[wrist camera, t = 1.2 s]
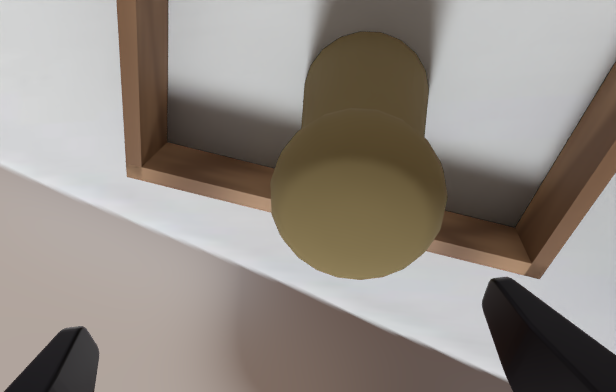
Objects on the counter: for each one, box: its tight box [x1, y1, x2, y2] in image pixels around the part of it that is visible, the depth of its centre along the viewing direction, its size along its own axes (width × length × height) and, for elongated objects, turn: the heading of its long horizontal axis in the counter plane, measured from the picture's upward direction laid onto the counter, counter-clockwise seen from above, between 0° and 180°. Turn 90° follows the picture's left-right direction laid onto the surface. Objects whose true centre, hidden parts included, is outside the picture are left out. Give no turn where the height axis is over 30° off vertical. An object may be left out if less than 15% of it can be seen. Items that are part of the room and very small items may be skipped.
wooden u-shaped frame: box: [117, 0, 616, 279], centre depth 19 cm, size 22×12×3 cm, turn 79°
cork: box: [270, 32, 448, 280], centre depth 16 cm, size 6×6×11 cm
